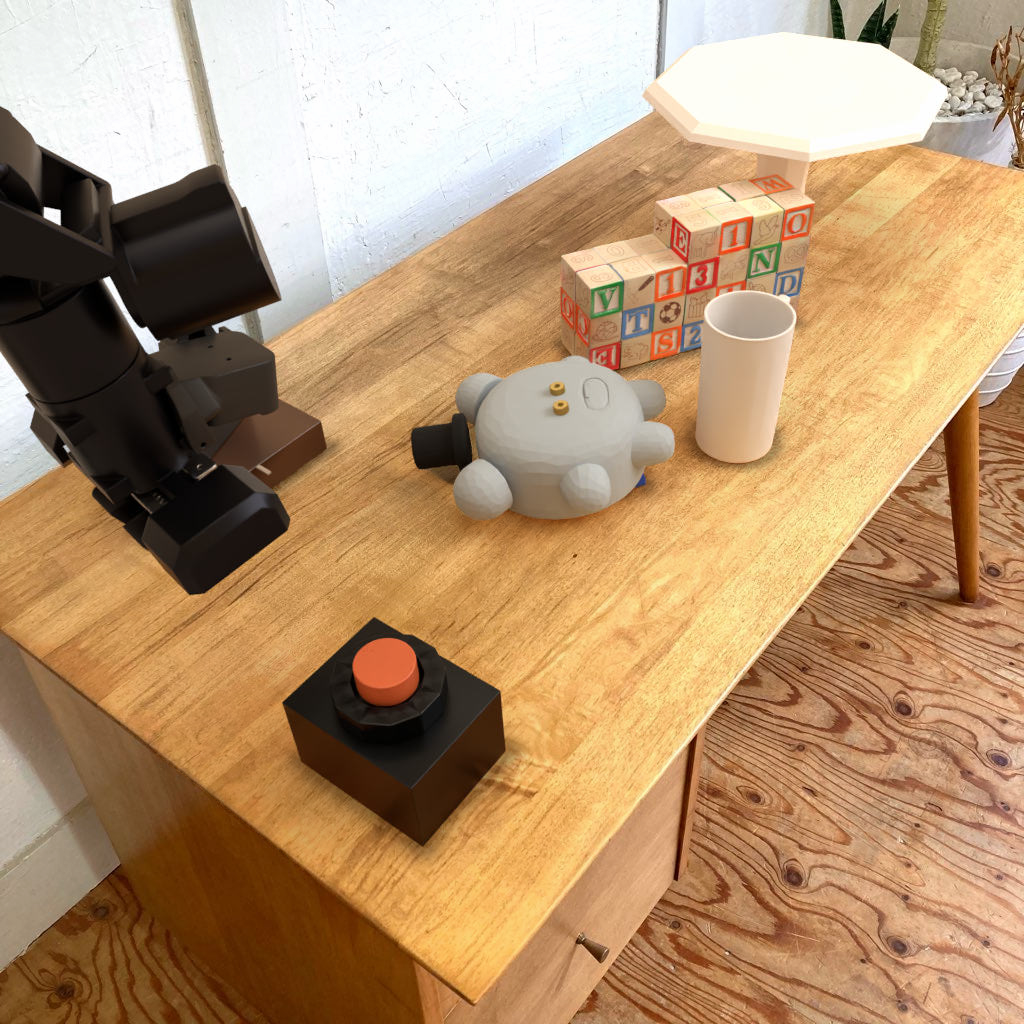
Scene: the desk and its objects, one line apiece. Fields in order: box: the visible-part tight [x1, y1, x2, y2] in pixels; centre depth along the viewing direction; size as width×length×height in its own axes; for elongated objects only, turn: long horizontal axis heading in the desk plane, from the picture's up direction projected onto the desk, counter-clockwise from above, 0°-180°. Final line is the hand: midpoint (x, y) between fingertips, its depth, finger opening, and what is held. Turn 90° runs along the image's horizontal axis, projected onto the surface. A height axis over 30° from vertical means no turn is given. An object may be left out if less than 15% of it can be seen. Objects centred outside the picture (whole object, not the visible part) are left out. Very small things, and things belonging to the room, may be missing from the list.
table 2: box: [642, 31, 949, 194], centre depth 103 cm, size 28×28×17 cm
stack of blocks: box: [559, 174, 816, 371], centre depth 93 cm, size 21×6×12 cm, turn 112°
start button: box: [352, 638, 419, 707], centre depth 60 cm, size 4×4×2 cm
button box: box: [281, 616, 507, 847], centre depth 63 cm, size 10×8×8 cm
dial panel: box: [211, 398, 328, 490], centre depth 85 cm, size 14×13×3 cm
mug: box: [695, 290, 797, 464], centre depth 83 cm, size 10×7×12 cm, turn 139°
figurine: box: [410, 355, 676, 521], centre depth 82 cm, size 17×8×20 cm
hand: (214, 568), depth 62 cm, fingers closed
